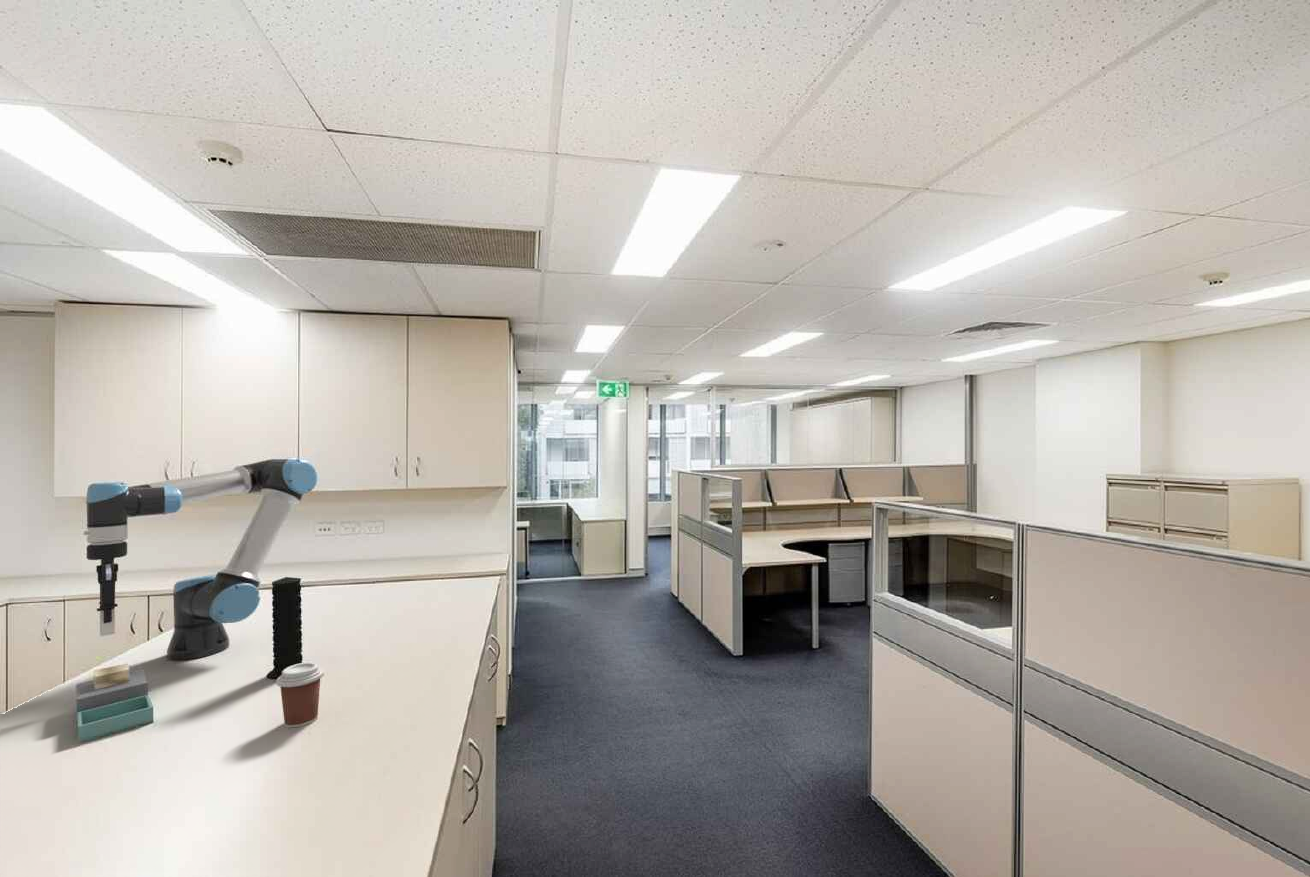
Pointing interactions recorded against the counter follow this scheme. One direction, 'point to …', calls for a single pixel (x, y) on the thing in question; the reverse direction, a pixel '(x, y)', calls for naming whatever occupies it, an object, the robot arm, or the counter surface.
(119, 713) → the box
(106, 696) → the gray rectangular block
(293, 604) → the black ridged tower
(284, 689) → the coffee cup
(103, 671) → the tile
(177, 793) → the counter surface
